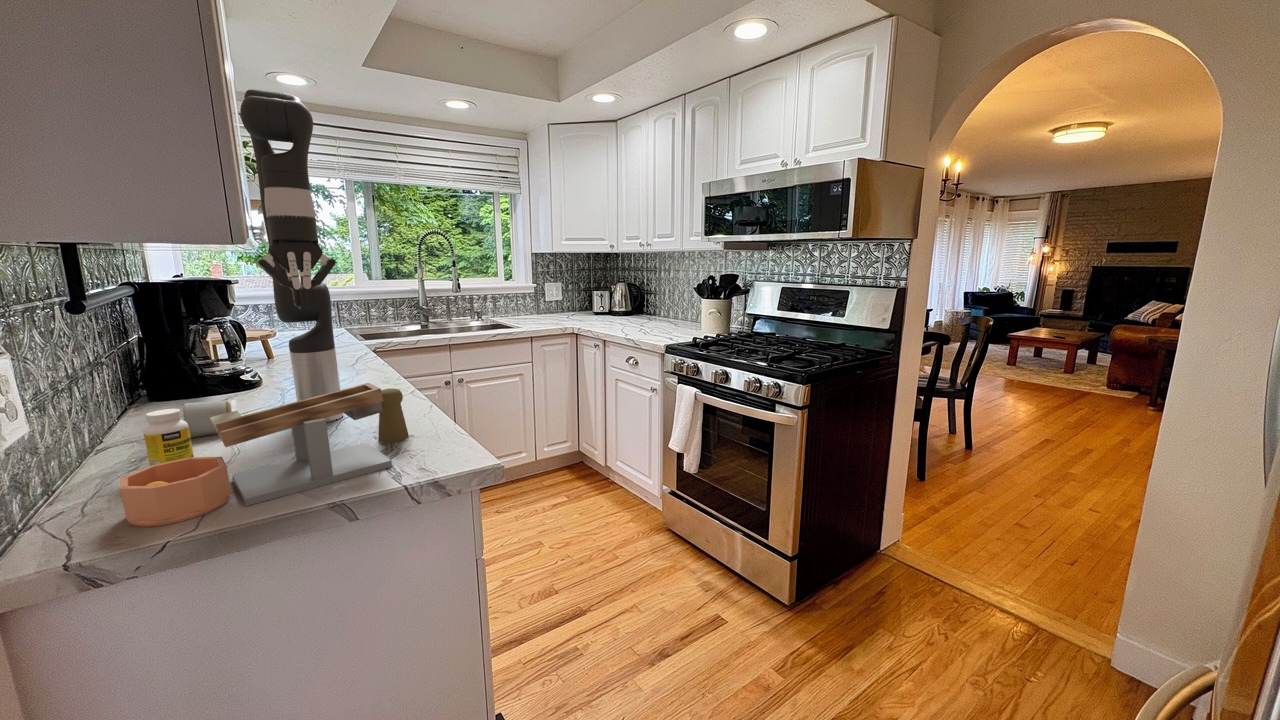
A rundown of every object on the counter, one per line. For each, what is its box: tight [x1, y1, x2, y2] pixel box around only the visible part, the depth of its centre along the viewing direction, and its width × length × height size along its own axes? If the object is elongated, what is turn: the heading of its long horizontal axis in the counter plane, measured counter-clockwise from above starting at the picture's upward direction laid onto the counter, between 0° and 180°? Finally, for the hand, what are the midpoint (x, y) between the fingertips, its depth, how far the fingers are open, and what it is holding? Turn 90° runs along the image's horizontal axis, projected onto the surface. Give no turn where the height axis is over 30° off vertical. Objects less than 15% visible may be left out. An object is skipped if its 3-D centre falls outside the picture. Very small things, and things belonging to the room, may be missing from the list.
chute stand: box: [231, 418, 393, 506], centre depth 92 cm, size 22×14×11 cm, turn 135°
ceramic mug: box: [182, 400, 233, 439], centre depth 116 cm, size 11×8×8 cm
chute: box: [210, 382, 383, 448], centre depth 94 cm, size 24×18×4 cm
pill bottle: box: [143, 408, 195, 466], centre depth 95 cm, size 6×6×11 cm
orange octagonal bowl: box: [119, 456, 232, 528], centre depth 80 cm, size 12×12×6 cm
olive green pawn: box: [377, 388, 410, 444], centre depth 110 cm, size 6×6×11 cm
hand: (303, 308), depth 98 cm, fingers closed
